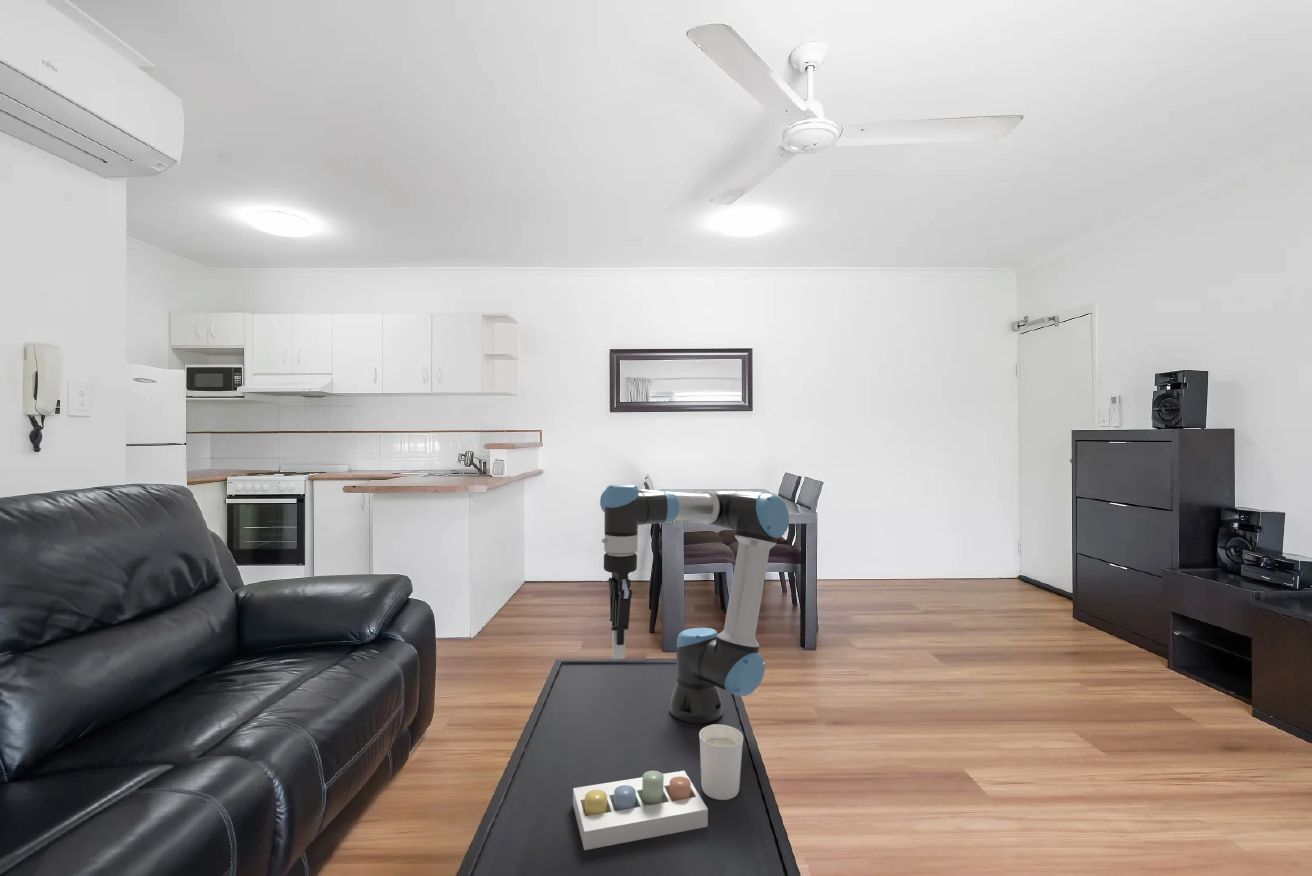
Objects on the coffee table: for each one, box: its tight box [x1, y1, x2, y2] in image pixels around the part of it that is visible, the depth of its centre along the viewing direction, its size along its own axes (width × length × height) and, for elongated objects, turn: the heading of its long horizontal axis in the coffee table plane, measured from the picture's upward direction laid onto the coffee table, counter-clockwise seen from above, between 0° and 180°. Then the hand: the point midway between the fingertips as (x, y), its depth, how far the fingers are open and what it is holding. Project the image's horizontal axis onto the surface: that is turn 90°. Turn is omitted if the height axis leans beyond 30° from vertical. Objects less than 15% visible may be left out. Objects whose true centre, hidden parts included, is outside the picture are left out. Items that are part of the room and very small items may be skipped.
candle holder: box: [698, 723, 744, 801], centre depth 127 cm, size 10×10×12 cm
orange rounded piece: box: [669, 776, 691, 801], centre depth 120 cm, size 4×4×4 cm
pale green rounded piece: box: [642, 770, 664, 805], centre depth 119 cm, size 4×4×4 cm
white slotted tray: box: [572, 770, 709, 851], centre depth 118 cm, size 25×14×4 cm, turn 107°
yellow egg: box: [585, 790, 607, 816], centre depth 115 cm, size 4×4×4 cm
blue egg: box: [614, 785, 636, 811], centre depth 117 cm, size 4×4×4 cm
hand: (618, 657), depth 129 cm, fingers closed
